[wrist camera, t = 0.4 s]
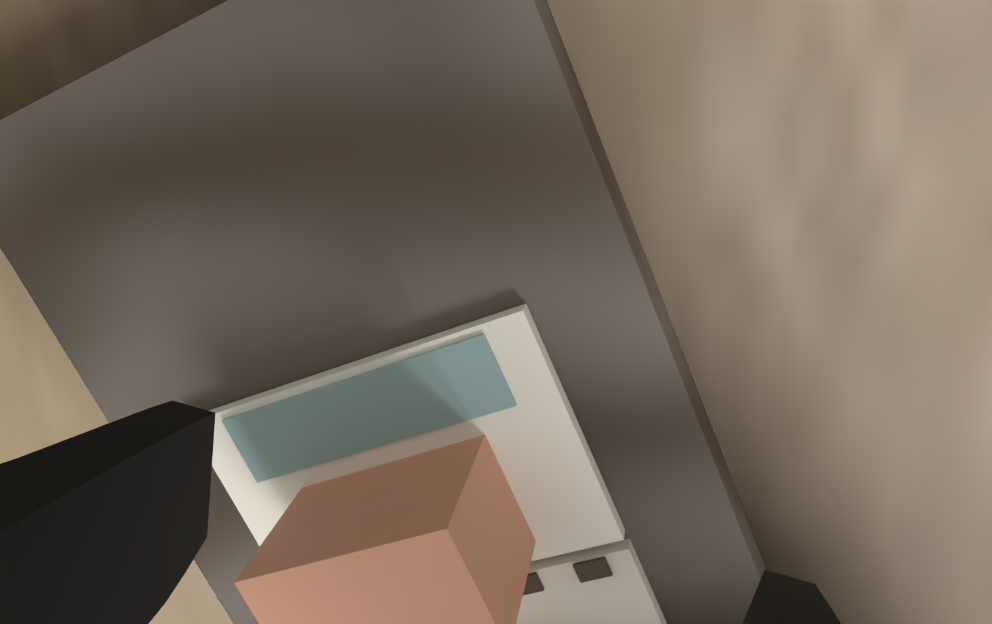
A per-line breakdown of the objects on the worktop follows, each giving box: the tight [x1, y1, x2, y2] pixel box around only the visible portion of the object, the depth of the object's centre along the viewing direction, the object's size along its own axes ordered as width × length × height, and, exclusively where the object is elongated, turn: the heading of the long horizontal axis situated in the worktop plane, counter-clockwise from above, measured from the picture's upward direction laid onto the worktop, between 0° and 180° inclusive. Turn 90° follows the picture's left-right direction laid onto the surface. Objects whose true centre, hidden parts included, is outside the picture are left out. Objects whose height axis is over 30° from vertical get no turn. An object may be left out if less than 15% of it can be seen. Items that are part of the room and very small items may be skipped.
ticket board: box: [0, 0, 767, 624], centre depth 21 cm, size 22×14×2 cm, turn 24°
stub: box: [209, 304, 625, 624], centre depth 19 cm, size 6×9×4 cm, turn 114°
